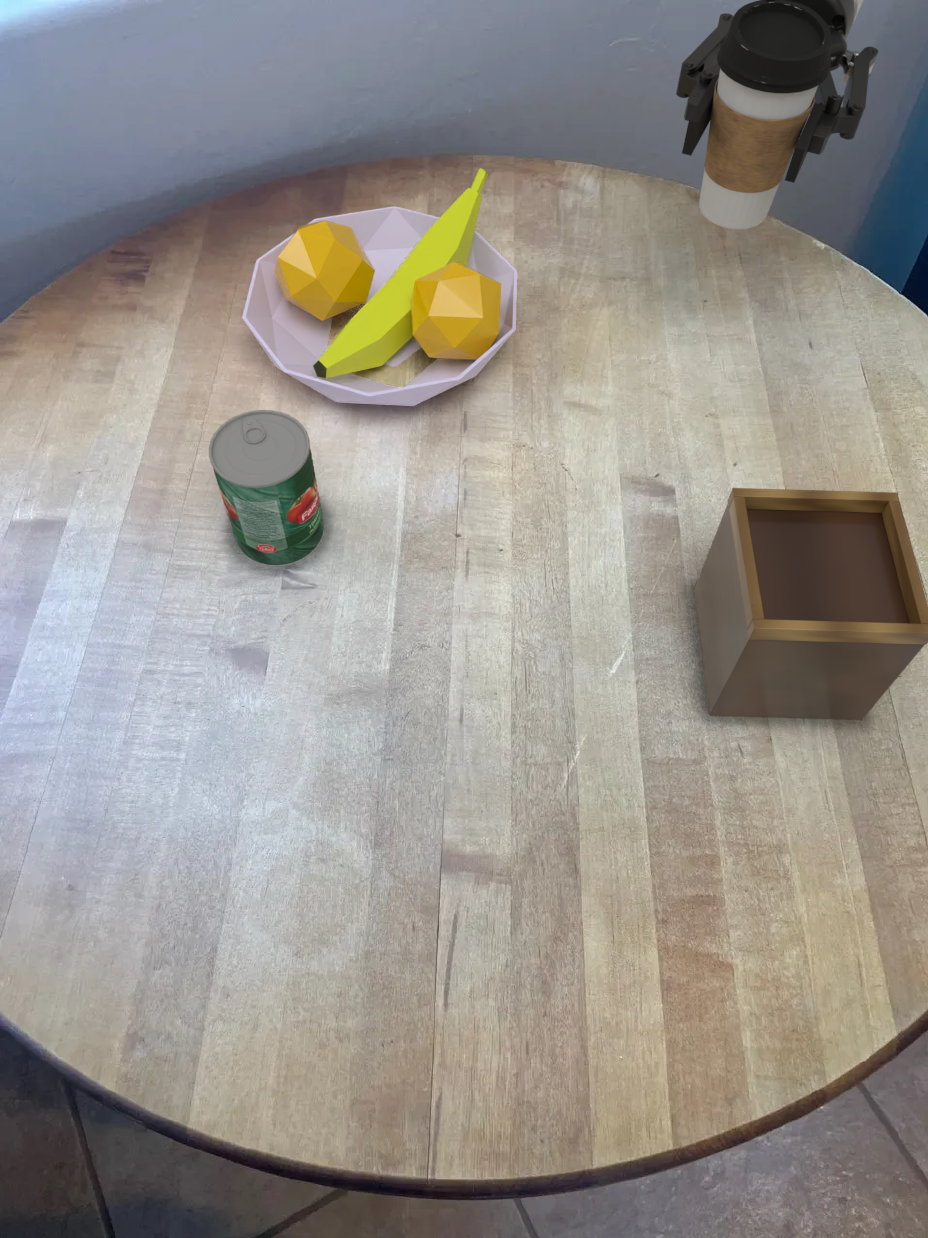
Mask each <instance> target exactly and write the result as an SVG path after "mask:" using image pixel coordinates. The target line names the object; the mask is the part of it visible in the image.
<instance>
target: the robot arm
mask: <svg viewBox="0 0 928 1238" xmlns="http://www.w3.org/2000/svg"><path fill="white" fill-rule="evenodd" d="M787 1H793V2H796V3H800V4H802V5H805V6H807V7H809V8H810V9H812V10H813V11H815V12H816V13H817V14H818V15H819V16H821V17H822V19H823V20H824V21H825V22H826V24H827V25H828V27H829V29H830V32H831V35H832V42H831V48H830V56H831V64H830V67H829V73H828V76H827V78H826V79H825V80H824V81H823V82H822V83H821V84H819V85H818V87H817V90H816V92H815V102H814V104H813V107H812V109H811V112H810V114H809V116H808V119H807V121H806V123H805V126H804V128H803V130H802V133H801V135H800V138H799V140H798V142H797V145H796V147H795V149H794V152H793V154H792V156H791V159H790V161H789V164H788V167H787V168H788V169H787V172H786V175H785V178H784V181H786V182H790V183H793V184H795V182H796V180H797V177H798V175H799V174H800V171H801V169H802V166H803V164H804V161H805V159H806V157H807V155H808V153H810V154H815V155H818V156H819V155H821V154H822V153H824V151H825V148H826V147H827V144H828V142H829V139H830V137H831V135H833V134H838V135H839V137H840V138H841V139H843V140H848V141H849V140H853V139H854V138H855V137H856V133H857V131H858V129H859V125H860V123H861V120H862V117H863V115H864V112H865V110H866V104H867V94H868V87H869V86H868V85H869V79H870V76H871V73H872V71H873V68H874V66H875V63H876V60H877V57H878V54H879V50H878V49H877V48H876V47H873V46H866V47H864V48H862V50H861V51H859V50H855V51H852V50H850V49H848V42H847V38H848V37H849V34H850V32H851V30H852V27H853V25H854V23H855V21H856V18H857V16H858V14H859V11H860V9H861V7H862V5H863V3H864V0H787ZM733 17H734V15H733V14H731V13H726V12H725V13H721V14H720V15H719V18H718V23H717V27H715V28H714V30H713V31H712V32H711V33H710V34H709V35H708V36H707V37H706V38H705V39H704V40H703V41H702V42H701V43H700V44H699V45H697V47H696V48H695V49H694V50H693V51H692V52H691V53H690V54H689V56H687V58H685V59H684V61H683V62H682V63H681V67H680V72H679V75H678V76H679V77H678V82H677V87H676V91H675V94H676V96H677V97H678V98H681V99H687V100H686V105H685V109H684V111H685V112H684V115H683V118H684V121H687V122H688V123H687V127H686V132H685V137H684V142H683V145H682V146H683V147H682V151H681V154H682V155H687V156H690V157H691V156H692V155H693V153H694V151H695V149H696V147H697V145H698V144H699V142H700V141H701V138H702V136H703V135H704V133H705V130H706V129H707V127H708V125H710V120H711V112H712V105H713V97H714V90H715V84H716V82H717V80H718V78H719V74H720V67H719V65H718V62H717V54H718V51H719V50H720V45H721V43H722V41H723V39H724V38H725V37H726V36H727V33H728V31H729V28H730V25H731V22H732V19H733ZM840 67H841V68H842V70H843V71H842V74H843V75H845V76H844V79H843V82H844V83H845V84H846V85H845V89H844V91H843V92H844V93H843V95H840V94H838V92H837V88H836V86H835V81H834V78H833V75H832V71H835V70H837V69H838V68H840Z"/></svg>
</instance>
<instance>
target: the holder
mask: <svg viewBox="0 0 928 1238" xmlns="http://www.w3.org/2000/svg"><path fill="white" fill-rule="evenodd" d="M693 591H694V600H695V610H696V616H697V617H696V618H697V623H698V624H697V625H698V634H699V640H700V649H701V650H700V651H701V657H702V666H703V674H704V684H705V691H706V699H707V708H708V715H709V716H710V717H734V718H735V717H736V718H737V717H738V718H767V719H768V718H769V719H802V720H803V719H804V720H805V719H807V720H833V721H834V720H837V721H839V720H840V721H863V720H864V718H865V717H866V716H867V715H868V714H869V712H870V711H872V709H873V708H874V707H875V706H876V704H877V703H878V702H879V700H880V699H881V698H882V697H883V696H884V694H886V693H887V691H889V689H890V687H891V686H892V685H893V684H894V683H895V681H896V680H897V679H898V678H899V677H900V675H901V674H902V673H903V672H904V670H905V669H906V668H907V667H908V666H909V664H910V663H911V662H912V661H913V660H914V659H915V657H916V656H917V655H918V653H919V652H921V650H922V649H923V648H924V647H925V646H926V645H928V600H927V597H926V593H925V589H924V585H923V582H922V578H921V575H920V571H919V567H918V564H917V559H916V556H915V552H914V548H913V545H912V542H911V537H910V534H909V530H908V527H907V523H906V518H905V515H904V512H903V509H902V505H901V502H900V496H899V493H898V492H889V491H888V492H887V491H886V492H885V491H857V490H856V491H854V490H824V489H823V490H822V489H821V490H818V489H817V490H816V489H785V488H784V489H782V488H751V487H750V488H749V487H748V488H747V487H732V488H731V491H730V494H729V496H728V498H727V504H726V507H725V509H724V512H723V514H722V517H721V520H720V522H719V525H718V527H717V530H716V532H715V535H714V537H713V540H712V542H711V545H710V548H709V550H708V553H707V556H706V558H705V561H704V563H703V566H702V568H701V571H700V573H699V576H698V578H697V581H696V583H695V586H694V588H693Z"/></svg>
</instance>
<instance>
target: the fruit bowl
mask: <svg viewBox="0 0 928 1238" xmlns="http://www.w3.org/2000/svg"><path fill="white" fill-rule="evenodd" d="M489 174H490V172H488V171H487V170H485V169H483V168H482V167H479V168H478V170H477V172H476V175H475V177H474V178H473V182H472V184H471V186H470V187H467V188H466V189H464V190H463V192H461V194H460V195H459V196H458V197H457V198H456V199H455V200H454V201H453V202H452V203H451V204H450V205H449V207H448V208H447V209H446V210H445V211H444V212H443V213H442V214H441V215H440V216H437V215H436V216H435V215H432V214H428V213H423V212H419V211H417V210H416V211H415V210H412V209H408V208H405V207H400V206H396V205H394V206H387V207H381V208H375V209H367V210H362V211H355V212H350V213H349V212H348V213H342V214H336V215H330V216H323V217H318V218H314V219H313V220H311V221H310V222H308V223H307V224H303V225H300V226H299V227H298V228H297V230H295V232H294V233H293V234H291V235H290V236H288V237H287V238H285V239H284V240H283V241H281V242H280V243H278V244H277V245H276V246H274V247H272V248H270V250H268V251H267V252H265V253H264V254H263V255H261V256H260V257H258V258H257V259H256V260H255V263H254V268H253V272H252V277H251V280H250V284H249V288H248V292H247V297H246V299H245V305H244V308H243V312H242V316H241V319H242V320H243V322H244V323H245V324H246V327H248V329H249V331H250V332H251V333H252V335H253V336H254V337H255V340H256V341H257V343H258V344H259V345H260V346H261V348H262V349H263V351H264V353H265V354H266V355H267V357H268V358H269V359H270V361H271V363H272V364H273V365H274V367H276V368H277V369H279V370H280V371H281V372H283V373H285V374H286V375H288V376H289V377H292V378H294V379H295V380H297V381H298V382H300V383H302V384H304V385H306V386H307V387H308V388H311V389H312V390H314V391H316V392H318V393H319V394H321V395H323V396H325V397H326V398H328V399H329V400H331V401H333V402H335V403H341V404H342V403H343V404H360V405H361V404H365V405H380V406H382V405H385V406H401V407H404V406H406V407H415V406H417V405H420V404H421V403H424V402H425V401H427V400H429V399H431V398H433V397H435V396H438V395H440V394H441V393H442V394H443V393H444V392H446V391H448V390H450V389H453V388H454V387H456V386H459V385H461V384H463V383H465V382H467V381H469V380H471V379H473V378H476V377H477V376H478V374H479V373H480V372H481V371H482V370H483V369H484V368H485V367H486V365H487V364H488V363H489V362H490V361H491V359H492V358H493V357H494V356H495V355H496V354H497V353H498V351H499V350H500V349H501V348H502V347H503V345H504V344H505V343H506V342H507V341H508V340H509V339H510V337H511V336H512V335H513V334H514V333H515V331H516V329H517V304H518V303H517V301H518V300H517V299H518V270H517V269H516V268H515V267H514V266H513V265H512V264H511V263H510V262H509V261H508V260H507V259H506V258H505V257H504V256H503V255H502V254H501V253H500V252H499V251H498V250H497V249H496V248H494V246H492V244H491V243H489V242H488V241H487V240H486V239H485V237H484V236H483V235H481V234H480V233H479V232H478V231H477V230H476V226H477V222H478V218H479V213H480V209H481V206H482V205H481V204H482V200H483V195H482V194H481V192H482V190H483V187H484V186H485V184H486V181H487V179H488V176H489ZM363 304H364V305H363ZM361 305H363V306H362V307H361V308H360V309H359V310H358V311H357V312H356V313H355V314H354V315H353V317H351V318H350V319H349V320H348V322H347V323H345V325H344V326H343V327H342V328H341V329H339V330H338V332H337V333H336V335H335V336H334V337H333V339H332V340H331V342H330V343H329V340H330V333H331V329H332V323H333V318H334V317H336V316H337V315H340V314H342V313H344V312H347V311H350V310H351V309H354V308H356V307H359V306H361ZM420 349H422V350H423V351H424V353H425V354H426V355H427V357H428V358H431V359H432V358H433V359H435V360H433V361H432V362H431V363H430V364H429V365H428V366H426V367H425V368H424V369H423V370H422V371H421V372H419V374H417V375H416V376H415V377H414V378H413V379H411V380H410V382H408V383H407V384H405V386H400V387H398V386H396V385H391V384H388V383H385V382H381V381H377V380H374V379H371V378H367V377H363V376H361V375H357V374H353V373H356V372H362V371H366V370H371V369H374V368H378V367H383V365H385V366H389V367H393V368H397V367H398V366H399V365H400V364H402V363H403V362H404V361H406V360H407V359H409V358H410V357H411V356H412V355H413V354H415V353H416V352H418V351H419V350H420Z"/></svg>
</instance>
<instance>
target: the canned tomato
mask: <svg viewBox="0 0 928 1238" xmlns="http://www.w3.org/2000/svg"><path fill="white" fill-rule="evenodd" d="M208 458H209V463H210V465H211V467H212V468H213V473H214V476H215V480H216V483H217V486H218V490H219V493H220V495H221V498H222V501H223V505H224V509H225V512H226V514H227V518H228V521H229V524H230V527H231V530H232V534H233V535H234V542H235V544H236V547H237V548H238V550H239V552H240V553H241V554H242V555H243V556H244V558H246V559H248V560H249V561H251V562H253V563H254V564H257V565H260V566H264V567H271V568H280V567H288V566H291V565H295V564H297V563H300V562H302V561H304V560H306V559H307V558H309V557H310V556H311V555H312V554H313V553H314V552H316V550H317V549H318V548H319V546H320V545H321V543H322V541H323V539H324V536H325V531H326V526H325V520H324V516H323V509H322V503H321V498H320V493H319V488H318V487H319V486H318V483H317V482H318V481H317V477H316V472H315V466H314V460H313V453H312V450H311V441H310V437H309V434H308V432H307V429H306V428H305V427H304V425H303V424H302V423H301V422H299V420H298V419H296V418H295V417H293V416H291V415H289V414H287V413H284V412H281V411H277V410H271V409H256V410H250V411H245V412H242V413H240V414H237V415H235V416H232V417H231V418H229V419H228V420H226V421H224V423H222V424H221V425H220V426H219V427H218V428H217V430H216V431H215V432H214V433H213V435H212V436H211V439H210V441H209V446H208Z"/></svg>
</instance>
